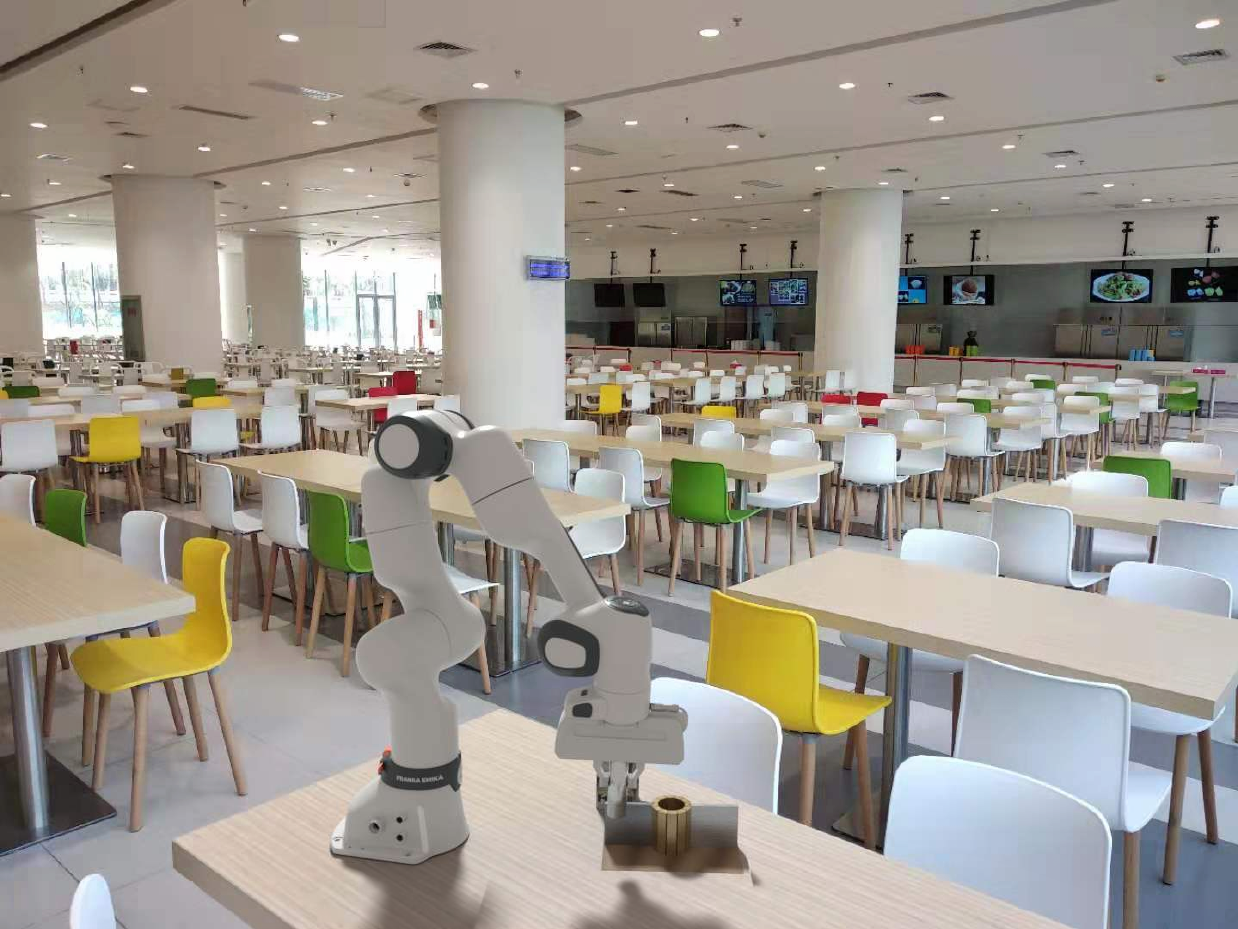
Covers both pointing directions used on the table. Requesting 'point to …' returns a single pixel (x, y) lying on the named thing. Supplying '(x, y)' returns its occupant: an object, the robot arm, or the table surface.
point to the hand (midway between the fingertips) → (617, 786)
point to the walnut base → (671, 859)
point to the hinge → (674, 825)
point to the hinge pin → (617, 789)
